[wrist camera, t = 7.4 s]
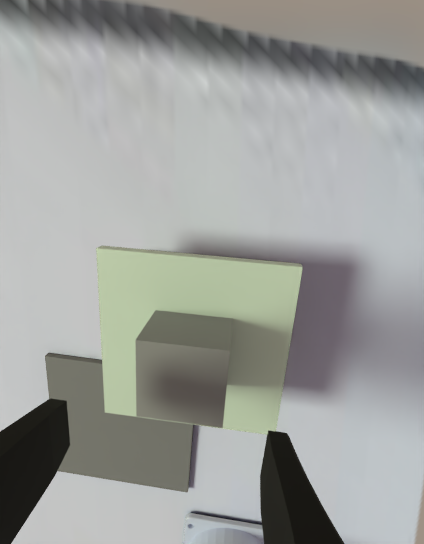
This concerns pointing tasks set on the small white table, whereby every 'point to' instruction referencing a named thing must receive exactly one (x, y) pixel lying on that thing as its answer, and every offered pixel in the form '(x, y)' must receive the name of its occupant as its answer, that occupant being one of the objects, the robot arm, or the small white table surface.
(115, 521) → the small white table surface
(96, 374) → the mat
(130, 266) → the lid
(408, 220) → the small white table surface
